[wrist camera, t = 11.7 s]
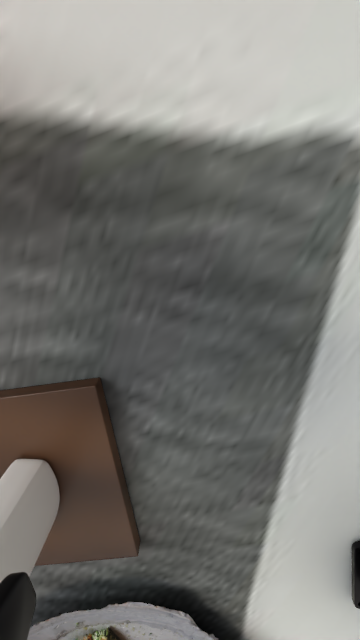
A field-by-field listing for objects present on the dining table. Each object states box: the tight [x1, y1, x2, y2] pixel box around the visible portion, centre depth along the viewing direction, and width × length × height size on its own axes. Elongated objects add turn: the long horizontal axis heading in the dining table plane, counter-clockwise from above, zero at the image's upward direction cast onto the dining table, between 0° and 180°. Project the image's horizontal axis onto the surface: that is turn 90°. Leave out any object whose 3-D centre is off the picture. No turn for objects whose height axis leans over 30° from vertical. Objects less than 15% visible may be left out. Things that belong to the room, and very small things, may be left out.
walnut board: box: [0, 378, 140, 566], centre depth 22 cm, size 14×12×1 cm
